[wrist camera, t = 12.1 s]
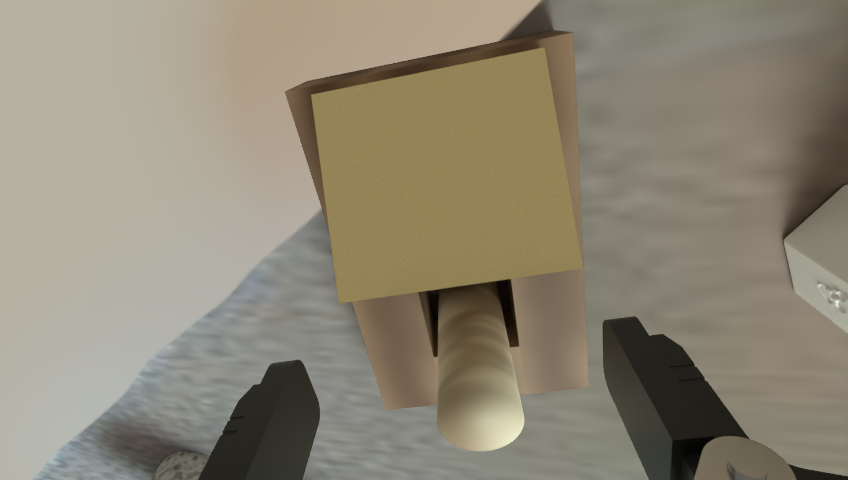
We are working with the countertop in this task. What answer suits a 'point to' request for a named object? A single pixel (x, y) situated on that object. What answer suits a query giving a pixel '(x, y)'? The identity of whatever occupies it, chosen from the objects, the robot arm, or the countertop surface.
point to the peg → (476, 370)
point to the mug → (181, 466)
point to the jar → (822, 258)
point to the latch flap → (445, 178)
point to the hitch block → (529, 296)
